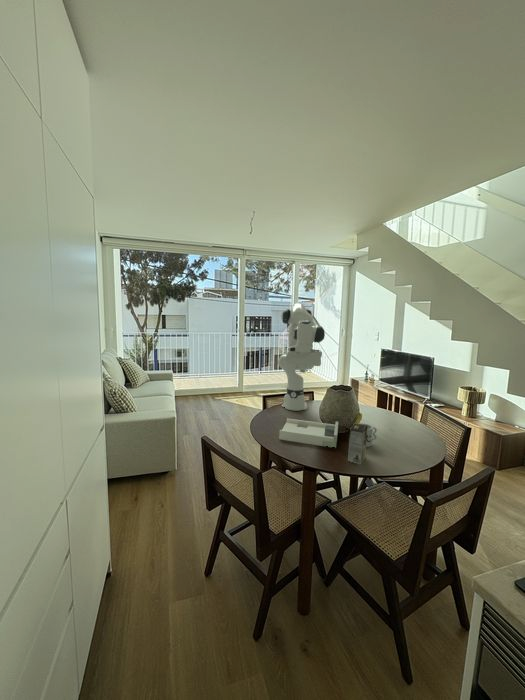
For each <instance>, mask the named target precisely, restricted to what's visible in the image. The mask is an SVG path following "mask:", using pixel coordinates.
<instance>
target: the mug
mask: <svg viewBox="0 0 525 700" xmlns="http://www.w3.org/2000/svg"><path fill="white" fill-rule="evenodd" d="M359 424H360V425H365V426H368V427H367V439H366V448H370V447H372V445H373V441H375V440H376V439H377V434H376V433H377V431H378V429H377V428H376V427H375V426H372V425H371V424H368V423H363V422H362V423H361V422H360V423H359Z"/></svg>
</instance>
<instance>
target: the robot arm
mask: <svg viewBox="0 0 525 700" xmlns="http://www.w3.org/2000/svg"><path fill="white" fill-rule="evenodd" d="M280 318H281V321H282V323H283V324H286V325H288V324H289V327H288V348H287V349H288V351H287V353H286V354H281V355H280V356H279V358H278V360H277V361H278V363H277V364H278V366H279V367H280V369H282V370H283V371H284V372H285V374H286V378H287V388H286V393H285V395H284V397H283V399H284V400H283V403H282V404H281V407H283V408H284V407H285V408H284V409H286V410H289V411H297V412H298V411H303V410H304V411H305V410H308V406H307V405H308V403H307V401H306V398H305V395H304V392H305V391H304V378H303V376H302V375H301V374H298V373H296V371H297V370H298V371H299V372H300V373H306V371H308V370H312V369H313V368H315V367H320V366H321V365H322V357H323V352H322V351H321V350H320V349H313V348H312V347H313V343H318V344H320V343H321V342H322V341H323V340H324V339H325V337H326V335H325V334H326V333H325V329H324V327H323V326H322V325H321V324H320V323H319V321H318V320H317V318H316V317H315V316H314V315H313V314H312V310H310V309H308V308H306V306H305V305H304V304H303V303H302V302H295V303H294V304H292V306H291V307H290V308H286V309H284V310H283V311H282V312H281V316H280Z"/></svg>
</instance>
